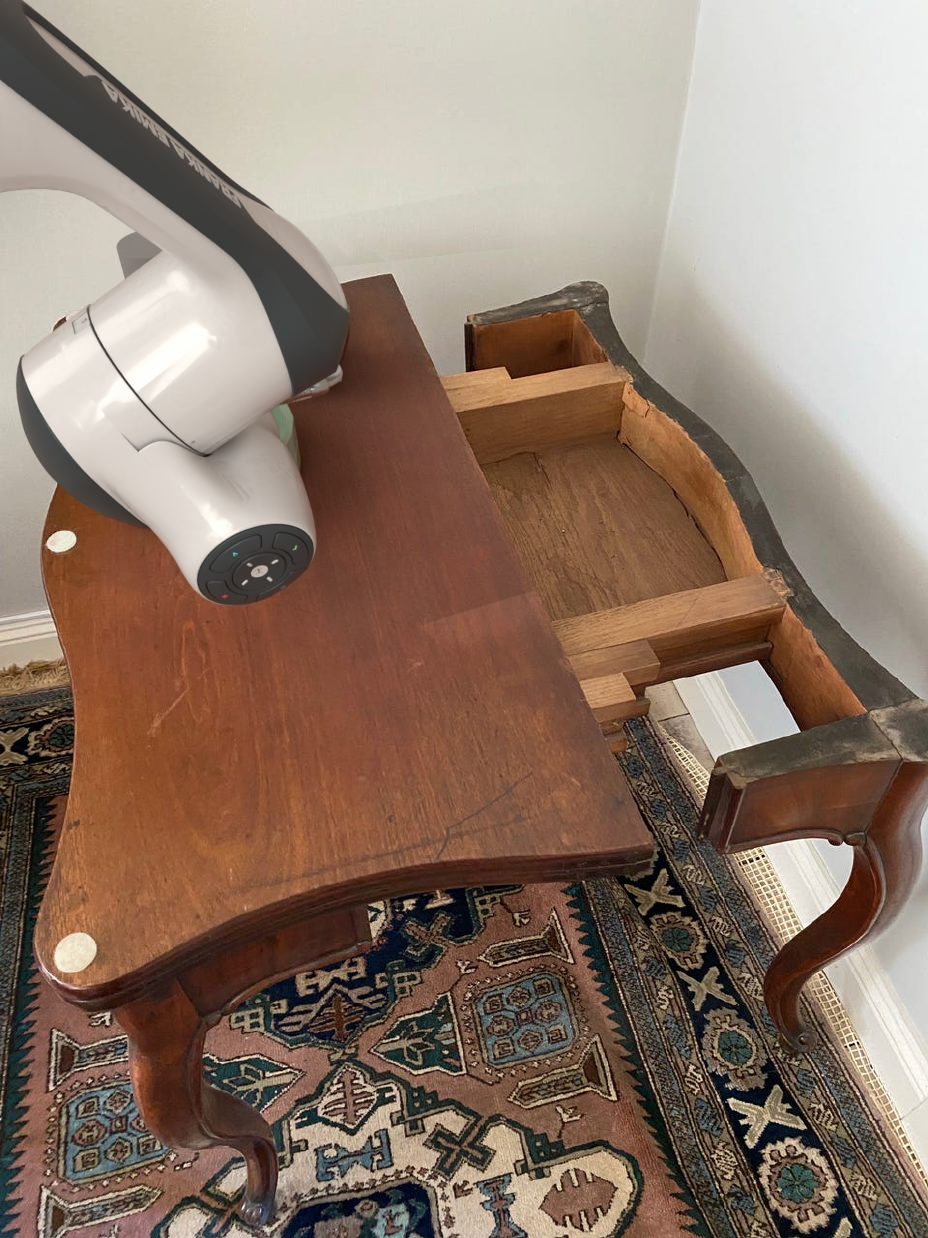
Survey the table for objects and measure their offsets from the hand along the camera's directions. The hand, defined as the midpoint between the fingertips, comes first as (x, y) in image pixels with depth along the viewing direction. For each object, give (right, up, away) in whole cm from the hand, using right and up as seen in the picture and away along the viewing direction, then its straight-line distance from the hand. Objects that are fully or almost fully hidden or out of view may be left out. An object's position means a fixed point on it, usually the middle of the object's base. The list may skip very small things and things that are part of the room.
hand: (168, 319), depth 70 cm
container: (0, -6, +6) cm, 9 cm away
